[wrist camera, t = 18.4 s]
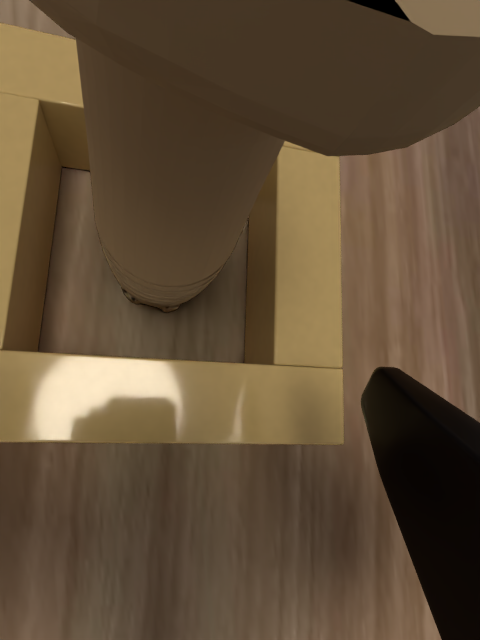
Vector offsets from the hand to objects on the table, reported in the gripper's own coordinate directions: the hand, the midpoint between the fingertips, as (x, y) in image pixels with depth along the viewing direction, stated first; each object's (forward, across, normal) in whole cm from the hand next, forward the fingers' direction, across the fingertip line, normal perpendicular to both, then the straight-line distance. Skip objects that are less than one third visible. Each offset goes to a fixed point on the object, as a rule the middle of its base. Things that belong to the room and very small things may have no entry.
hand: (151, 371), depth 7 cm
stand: (+10, 0, +3) cm, 10 cm away
